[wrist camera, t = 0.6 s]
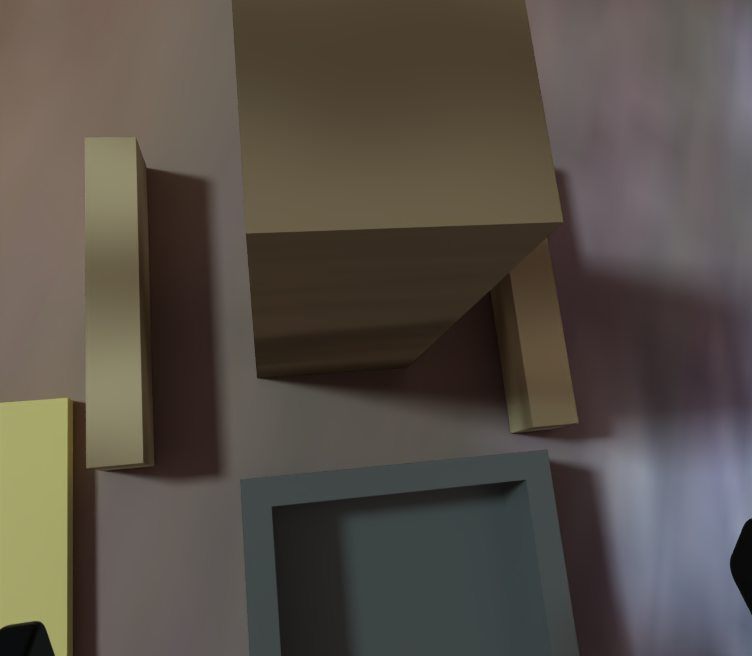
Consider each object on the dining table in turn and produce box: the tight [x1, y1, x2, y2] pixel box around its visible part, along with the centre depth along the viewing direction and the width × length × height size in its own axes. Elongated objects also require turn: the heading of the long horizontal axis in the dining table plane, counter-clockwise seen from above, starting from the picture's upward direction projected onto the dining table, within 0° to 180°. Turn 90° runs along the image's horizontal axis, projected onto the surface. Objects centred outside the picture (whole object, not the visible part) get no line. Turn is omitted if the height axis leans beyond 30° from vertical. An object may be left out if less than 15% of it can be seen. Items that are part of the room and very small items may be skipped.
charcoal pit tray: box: [240, 450, 579, 656], centre depth 20 cm, size 9×9×2 cm
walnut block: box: [232, 0, 563, 378], centre depth 17 cm, size 5×5×12 cm
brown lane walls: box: [85, 137, 579, 471], centre depth 22 cm, size 10×14×2 cm
